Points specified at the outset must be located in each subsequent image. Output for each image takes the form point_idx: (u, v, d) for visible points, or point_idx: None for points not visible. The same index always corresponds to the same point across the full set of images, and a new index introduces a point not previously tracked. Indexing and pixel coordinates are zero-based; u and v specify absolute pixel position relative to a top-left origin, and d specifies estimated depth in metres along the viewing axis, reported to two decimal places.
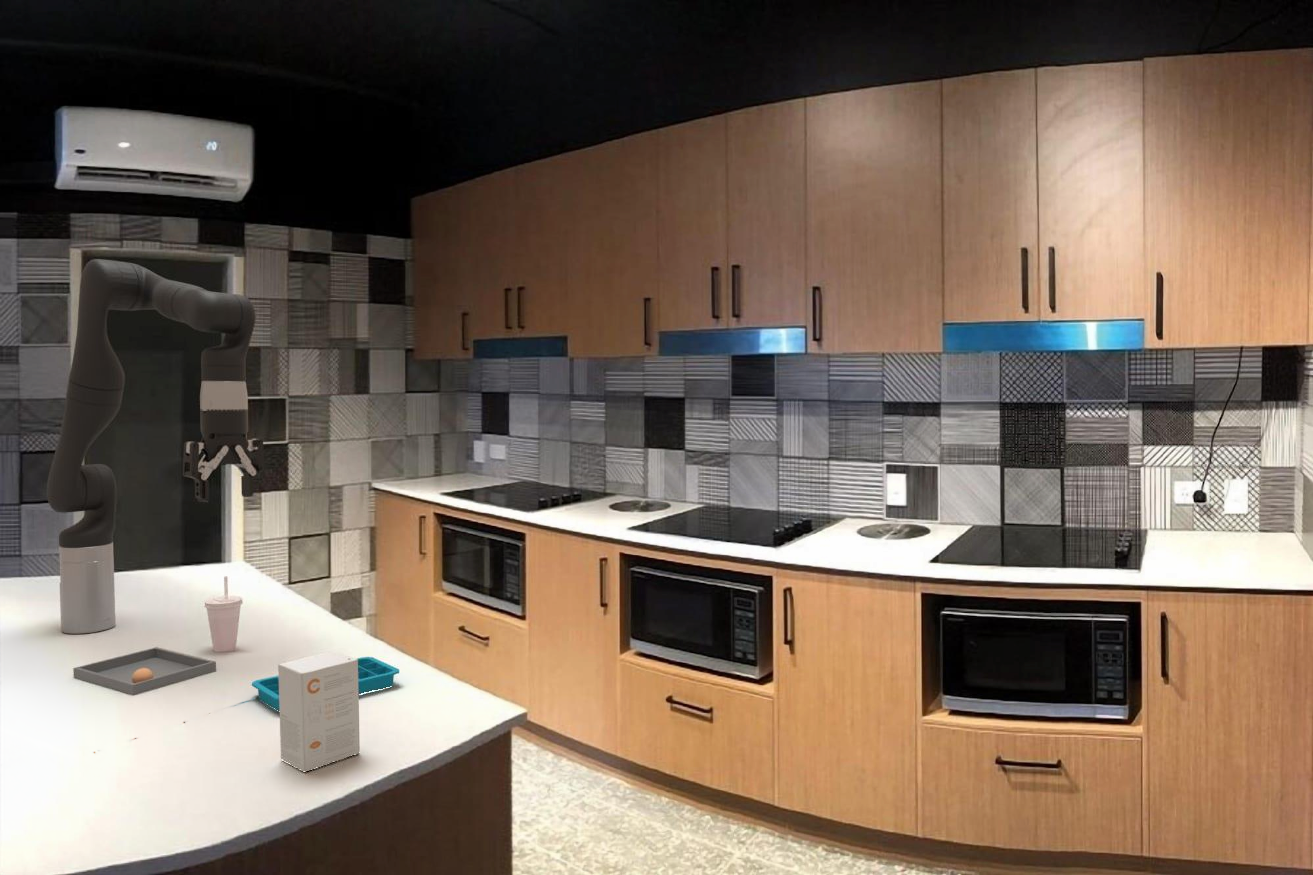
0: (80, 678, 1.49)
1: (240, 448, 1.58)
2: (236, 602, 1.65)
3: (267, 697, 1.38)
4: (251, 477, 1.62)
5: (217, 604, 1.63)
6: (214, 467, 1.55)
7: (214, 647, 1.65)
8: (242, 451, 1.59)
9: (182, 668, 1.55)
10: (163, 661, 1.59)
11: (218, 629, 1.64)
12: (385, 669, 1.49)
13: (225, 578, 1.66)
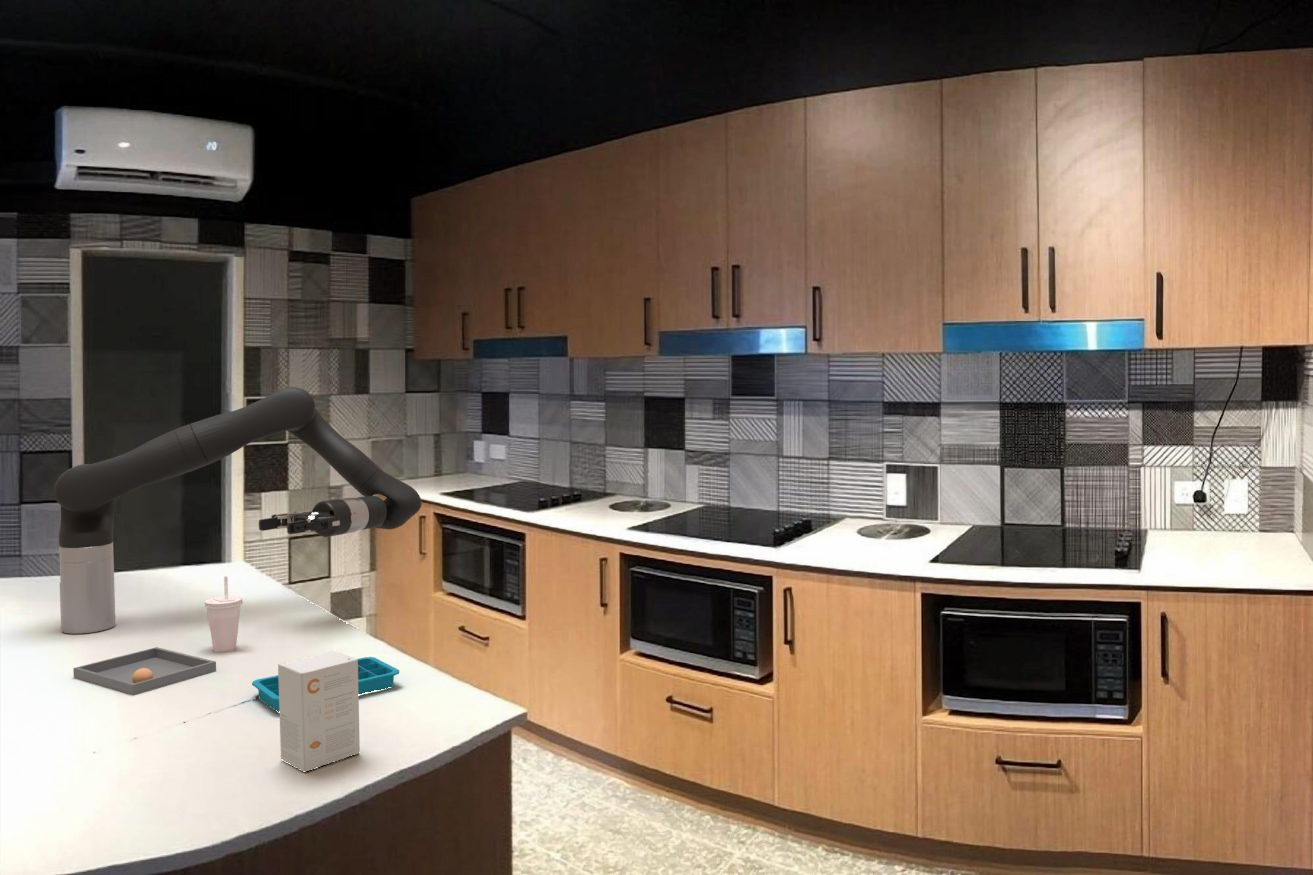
0: (80, 678, 1.49)
1: None
2: (236, 602, 1.65)
3: (266, 696, 1.38)
4: None
5: (217, 604, 1.63)
6: None
7: (214, 647, 1.65)
8: None
9: (182, 668, 1.55)
10: (163, 661, 1.59)
11: (218, 629, 1.64)
12: (386, 670, 1.49)
13: (225, 578, 1.66)
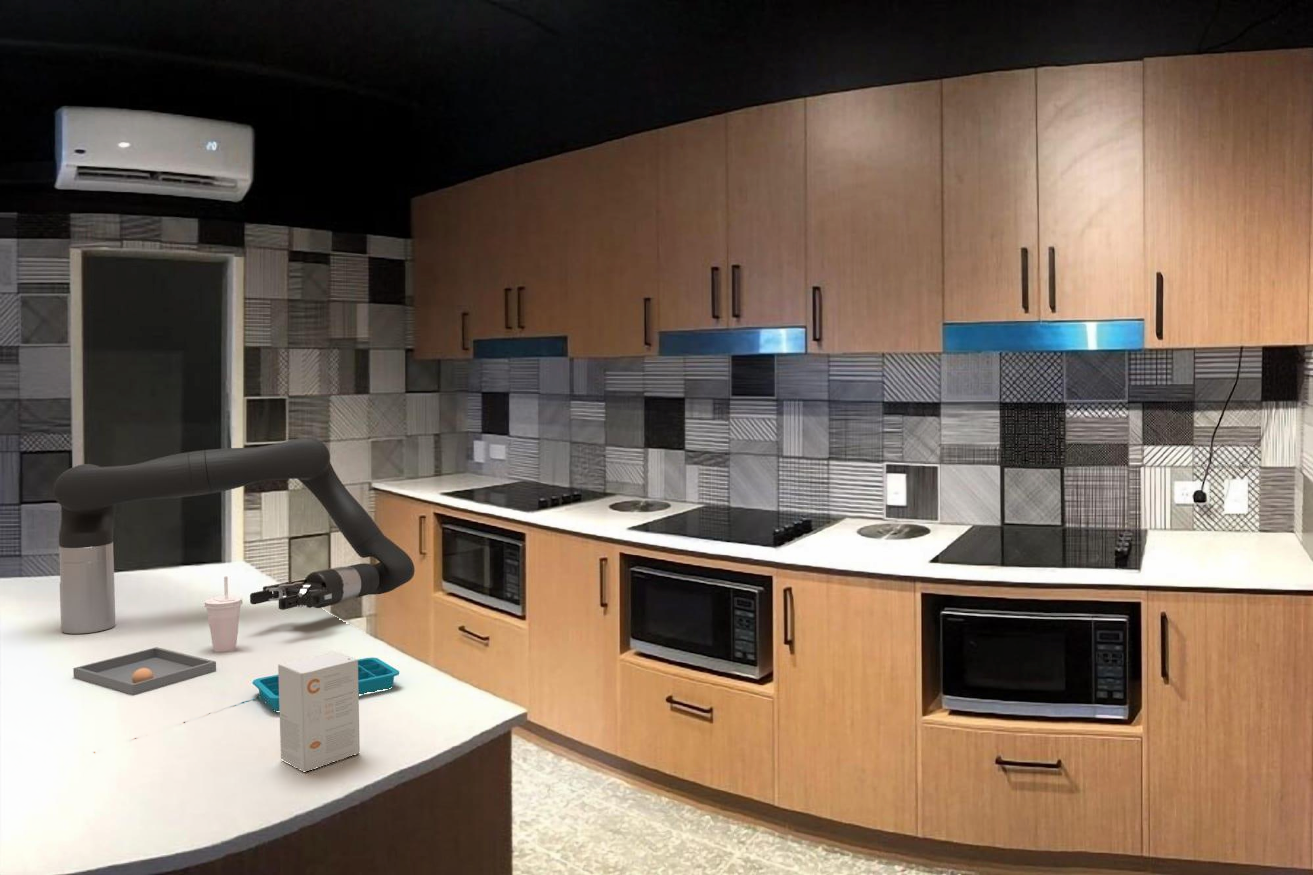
0: (80, 678, 1.49)
1: None
2: (236, 602, 1.65)
3: (265, 696, 1.39)
4: None
5: (217, 604, 1.63)
6: None
7: (214, 647, 1.65)
8: None
9: (182, 668, 1.55)
10: (163, 661, 1.59)
11: (218, 629, 1.64)
12: (387, 671, 1.48)
13: (225, 578, 1.66)
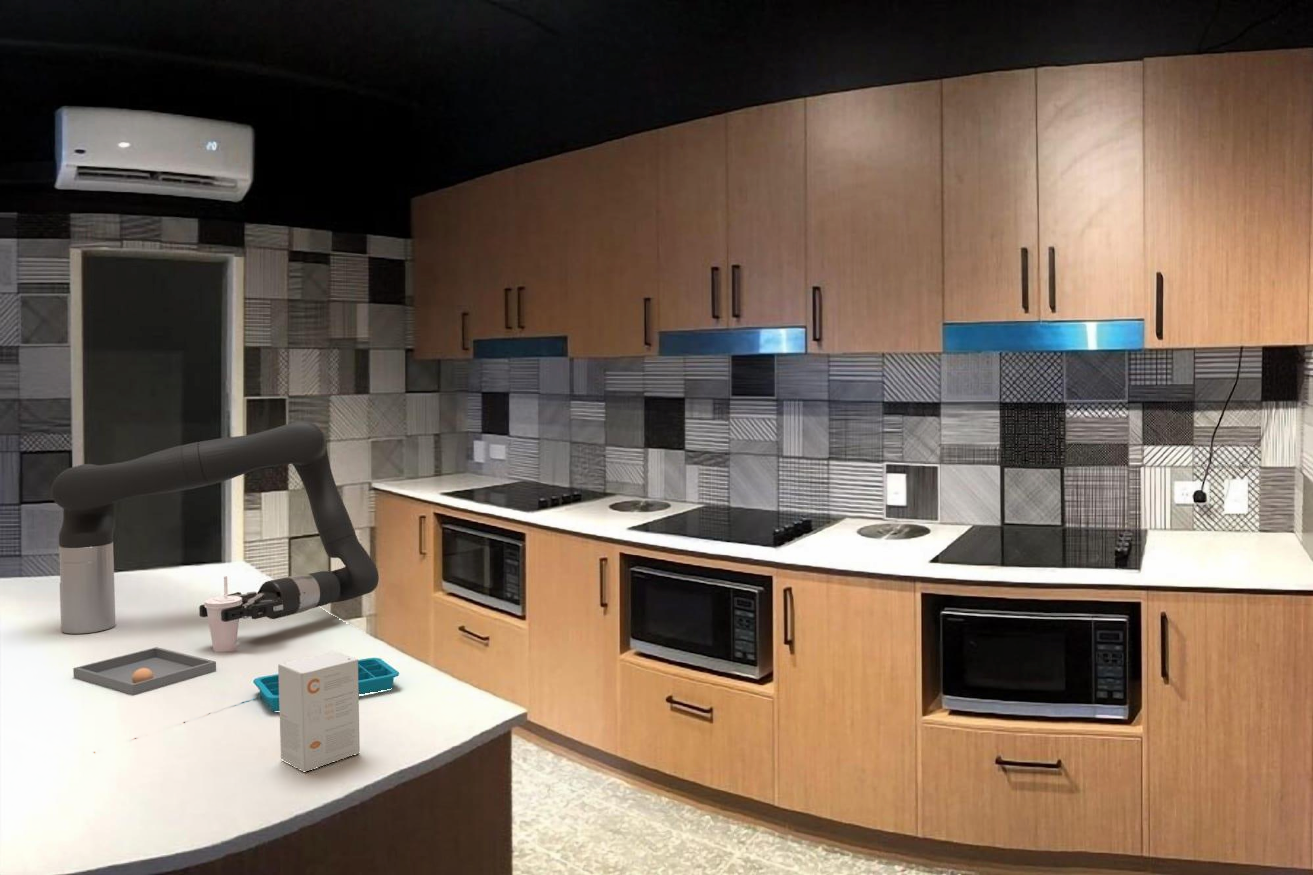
0: (80, 678, 1.49)
1: None
2: (236, 602, 1.65)
3: None
4: None
5: (217, 604, 1.63)
6: None
7: (214, 647, 1.65)
8: None
9: (182, 668, 1.55)
10: (163, 661, 1.59)
11: (218, 629, 1.64)
12: (387, 671, 1.48)
13: (225, 578, 1.66)
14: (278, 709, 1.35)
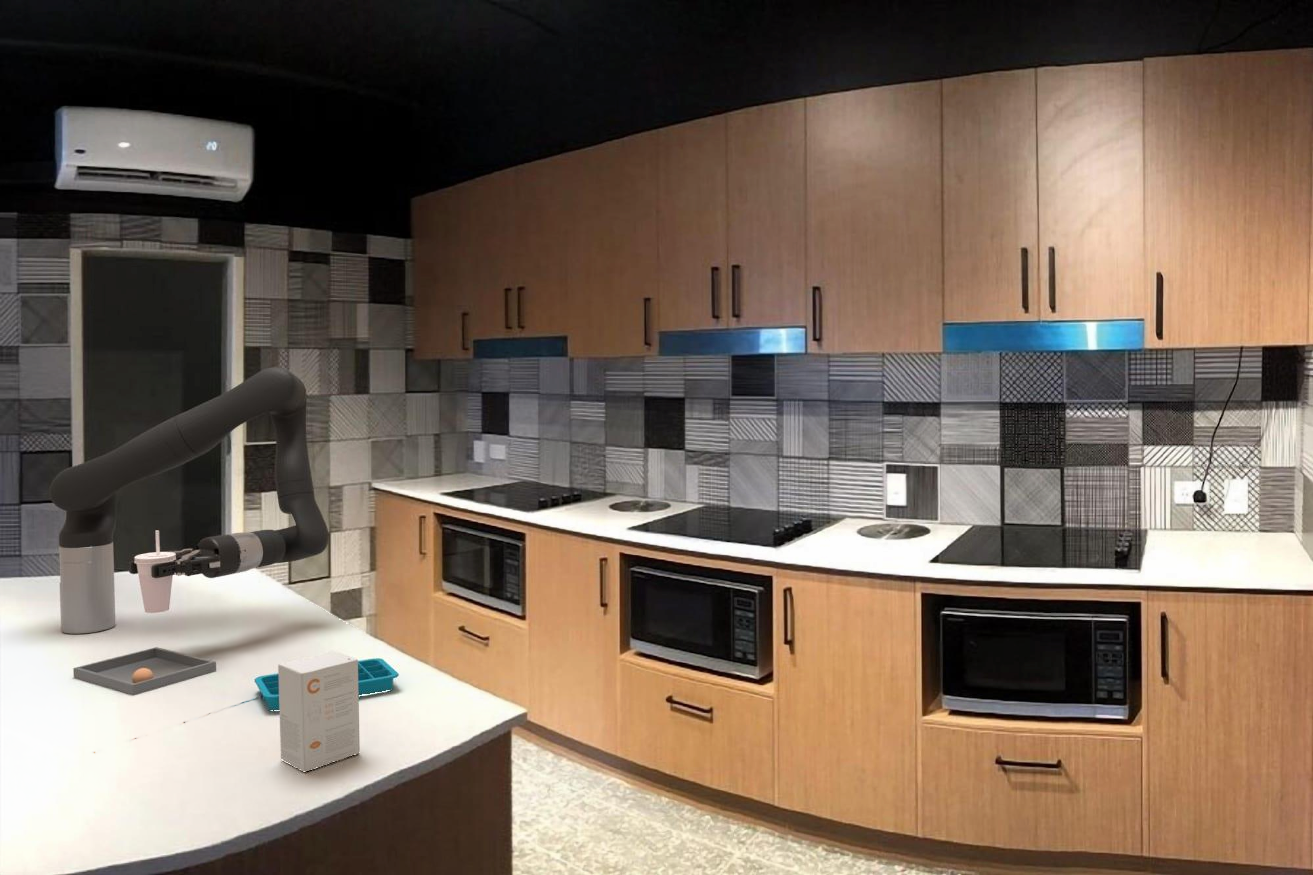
0: (80, 678, 1.49)
1: None
2: (168, 557, 1.55)
3: None
4: None
5: (147, 559, 1.53)
6: (184, 574, 1.58)
7: (145, 606, 1.54)
8: None
9: (182, 668, 1.55)
10: (163, 661, 1.59)
11: (149, 586, 1.54)
12: (387, 672, 1.47)
13: (156, 532, 1.55)
14: (275, 708, 1.36)
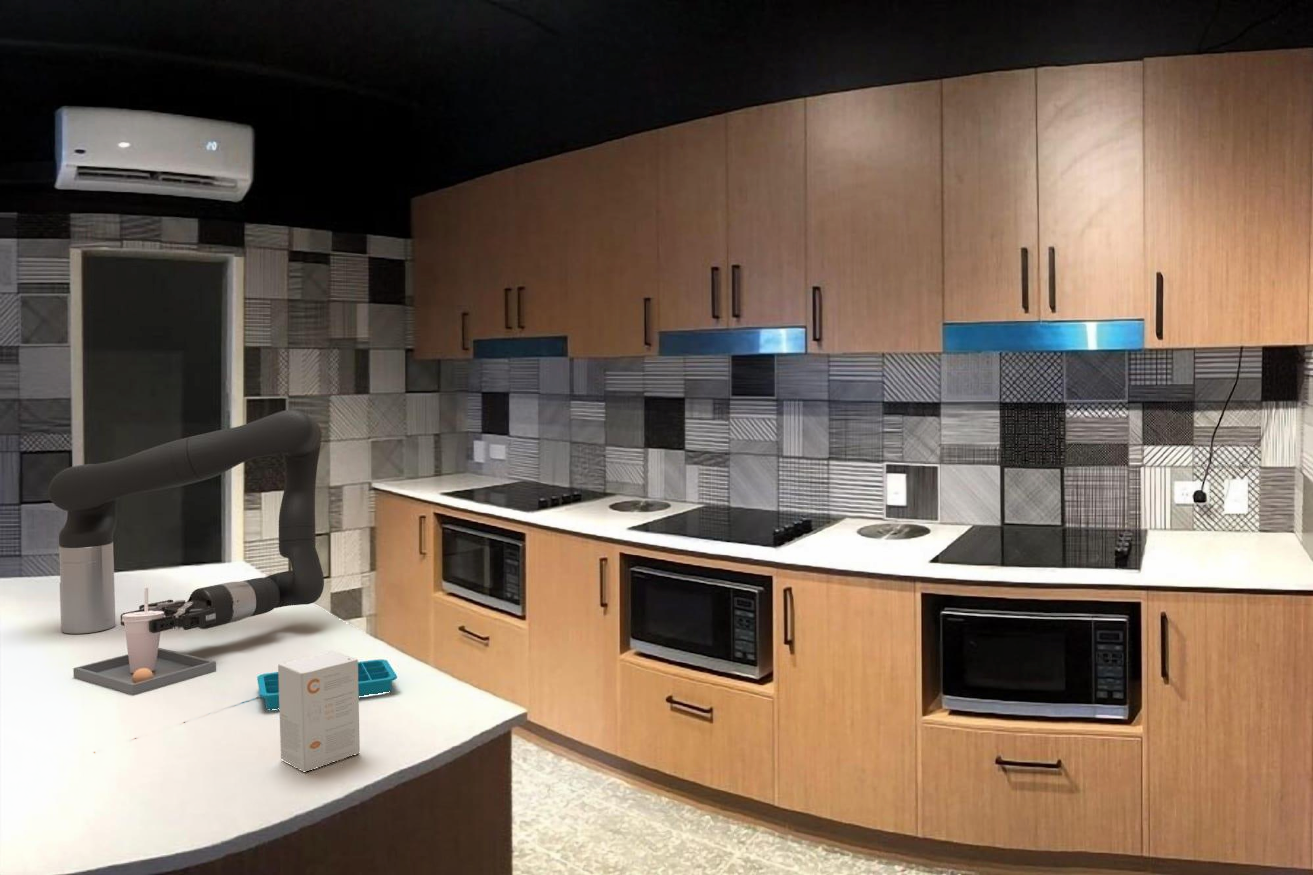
0: (80, 678, 1.49)
1: None
2: (156, 615, 1.53)
3: None
4: None
5: (135, 617, 1.51)
6: None
7: (131, 665, 1.52)
8: None
9: (182, 668, 1.55)
10: (163, 661, 1.59)
11: (135, 645, 1.51)
12: (388, 674, 1.46)
13: (145, 589, 1.53)
14: (271, 707, 1.36)
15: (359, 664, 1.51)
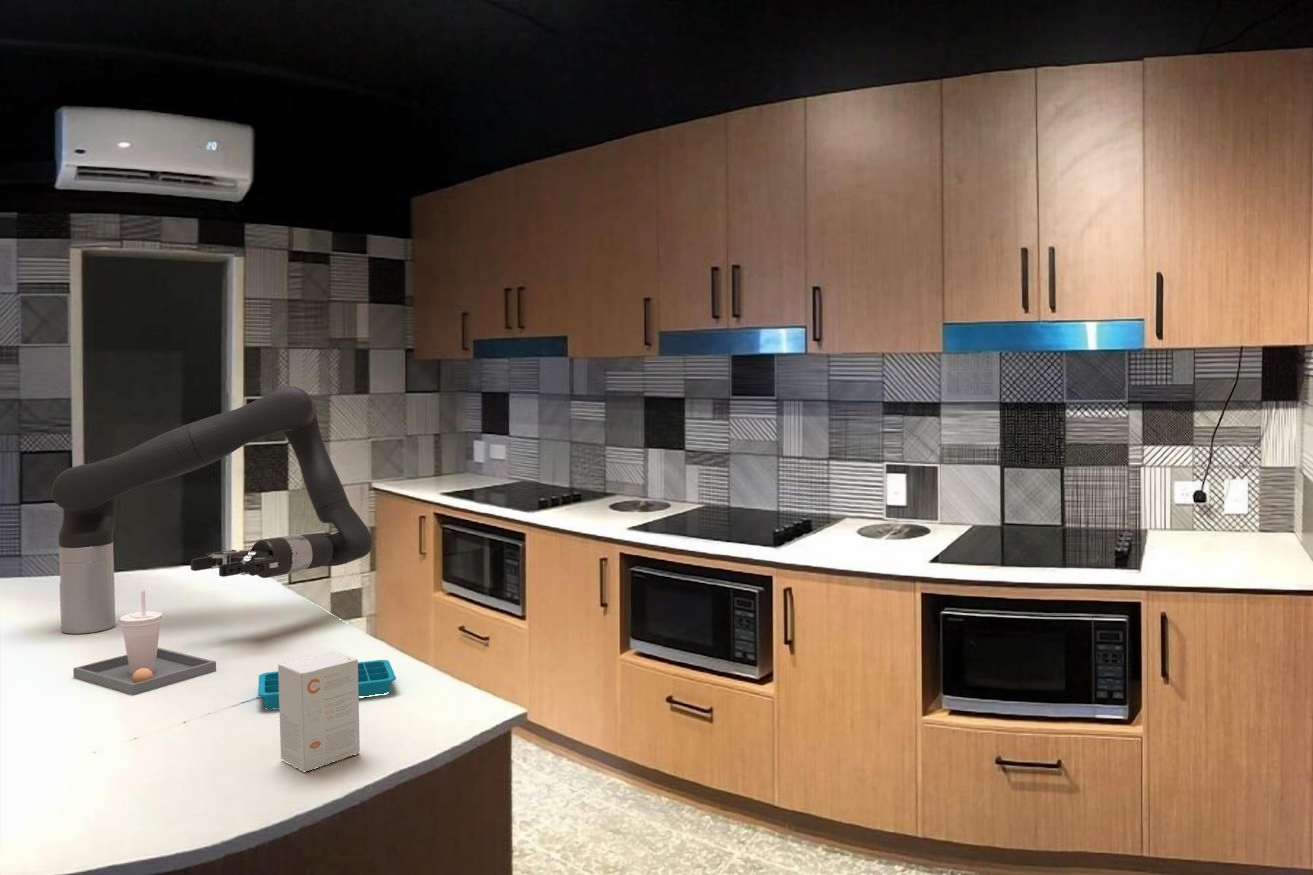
0: (80, 678, 1.49)
1: None
2: (154, 619, 1.51)
3: None
4: None
5: (132, 621, 1.49)
6: None
7: (130, 668, 1.51)
8: None
9: (182, 668, 1.55)
10: (163, 661, 1.59)
11: (134, 648, 1.50)
12: (387, 675, 1.46)
13: (142, 593, 1.52)
14: (269, 706, 1.36)
15: (361, 664, 1.51)
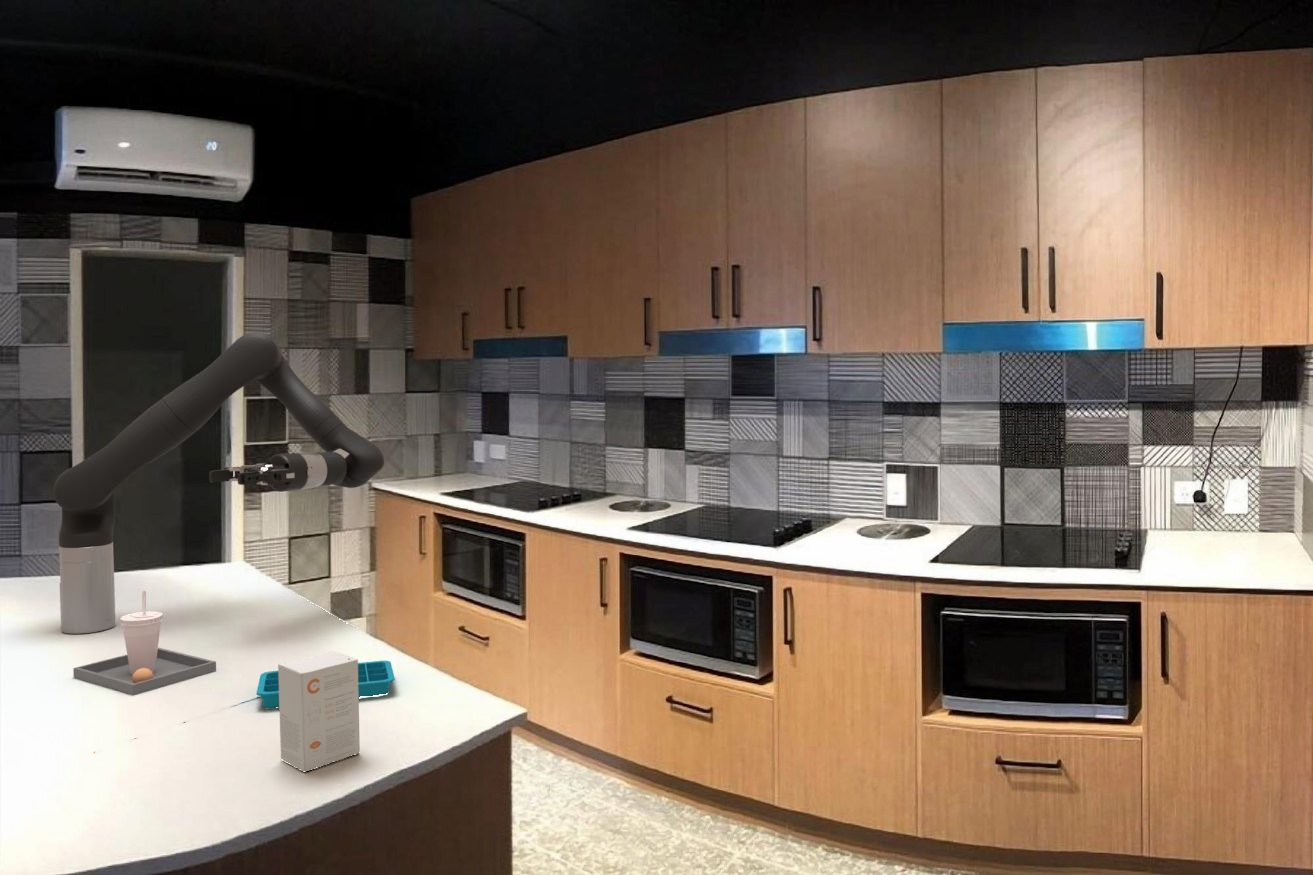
0: (80, 678, 1.49)
1: None
2: (155, 619, 1.52)
3: None
4: (226, 480, 1.73)
5: (133, 621, 1.50)
6: (263, 484, 1.72)
7: (130, 668, 1.51)
8: None
9: (182, 668, 1.55)
10: (163, 661, 1.59)
11: (134, 648, 1.50)
12: (387, 676, 1.46)
13: (143, 592, 1.52)
14: (267, 705, 1.37)
15: (363, 665, 1.51)
